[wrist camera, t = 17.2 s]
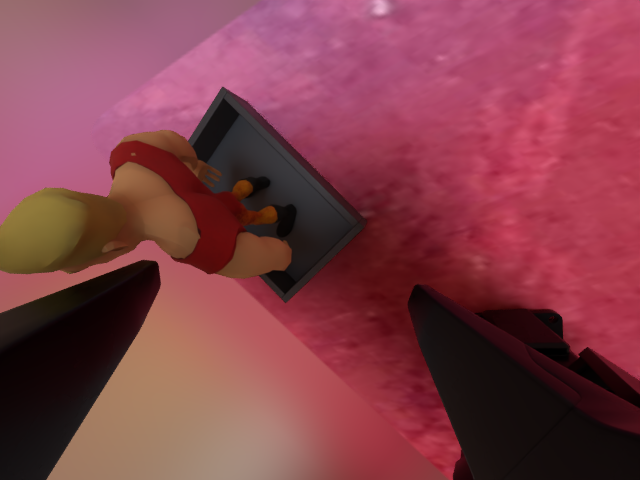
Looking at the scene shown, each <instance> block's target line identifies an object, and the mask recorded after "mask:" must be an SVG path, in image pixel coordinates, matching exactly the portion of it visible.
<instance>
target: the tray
mask: <svg viewBox="0 0 640 480" xmlns="http://www.w3.org/2000/svg"><path fill="white" fill-rule="evenodd" d="M188 142H189V144H190V145H191V146H192V147H193V149H194V151H195V153H196V156H197V159H198V160H201V161H203V162H205V163H206V164H208V165H209V166H211V167H213V168H214V169H216V170H218V171H219V172H221V174H222V176H219V175H217V174H215V173H214V172H212V171H210V170H208V169H207V171H208V172H209V173H211V174H213V175H215V176H217V177H218V178H219V179H220V181H219V182H218V181H216V180H214V179H212V178H211V177H209V176H207V175H205V177H206V178H207V179H208V180H209V181H210V182H212V183H213V184H214V185H215V186H214V187H211V186H209V185H208V184H207V183H205V182H204V181H202V183H203V184H204V185H206V186H207V187H208V188H209V189H210V190H211V191H212V192H213V193H219V192H222V191H229V192H232V191H233V187H234V186H235V185H236V183H237V182H238V181H239V180H240V179H244V178H247V177H254V178H258V177H260V176H264V177H267V179H268V180H269V181H270V183H269V186H267V187H266V188H264V189H260V190H257V191H256V192H255V193H253V195H252V196H250V197H249V198H244V199H242V200H241V201H240V202H241V203H242V204H243V205H244V206H245V208H246V209H247V210H250V211H256V212H259V211H260V210H262V209H263V208H265V207H267V206H269V205H271V204H273V205H280V206H283V207H285V206H286V205H288V204H292V205H293V206H294V207H295V208H296V211H297V212H296V216H295V220H294V224H293V227H292V230H291V232H290V233H289V234H288V235H287V236H286V237H283V238H281V237H279V236H277V234H276V230H277V226H278V224H279V222H280V221H281V220H280V221H279V222H277V223H272V224H261V225H254V224H250V225H247V226H243V227H244V228H245V229H246V230H247V232H249V233H252V234H254V235H256V236H258V237H259V238H260V237H265V236H266V237H272V238H276V239H279V240H281V241H282V242H283V240H285V241H287V243H288V245H289V247H290V248H291V249H292V253H291V263H290V264H289V265H288V267H287V268H286V269H285V271H281V270H272V271H270V272H268V273H264V274H261V275H259V276H260V277H261V278H262V279H263V280H264V281H265V282H266V283H267V284H268V285H269V286H270V287H271V288H272V290H273V291H274V292H275V293H276V294H277V295H278V296H279V297H280V298H281V299H282V300H283V301H284V302H285V303H286V302H287V301H289V300H290V299H291V298H292V297H293V296H294V295H295V294H296V293H297V292H298V291H299V290H300V289H301V288H302V287H303V286H304V285H305V284H306V283H307V282H308V281H309V280H310V279H311V278H312V277H313V276H315V275H316V274H317V273H318V272H319V271H320V270H321V269H322V268H323V267H324V266H325V265H326V264H327V263H328V262H329V261H330V260H331V259H332V258H333V257H334V256H335V255H336V254H337V253H338V252H339V251H341V250H342V249H343V248H344V247H345V246H346V245H347V244H348V243H349V242H350V241H351V240H352V239H353V238H354V237H355V236H356V235H357V234H358V233H359V232H360V231H361V230H362V229H363V228H364V227H365V225H366V223H367V220H366V219H365V218H364V217H363V216H362V215H361V214H359V213H358V212H357V211H356V210H355V209H354V208H353V207H352V206H351V205H350V204H349V203H348V202H347V201H346V200H345V199H344V198H343V197H342V196H341V195H340V194H339V193H338V192H337V191H336V190H335V189H334V188H333V187H332V186H331V185H330V184H329V183H328V182H327V181H326V180H325V179H324V178H323V177H322V176H321V175H320V174H319V173H318V172H317V171H316V170H315V169H314V168H313V167H312V166H311V165H310V164H309V163H308V162H307V161H306V160H305V159H304V158H303V157H302V156H301V155H300V154H299V153H298V152H297V151H296V150H295V149H294V148H293V147H292V146H291V145H290V144H289V143H288V142H287V141H286V140H285V139H284V138H283V137H282V136H281V135H280V134H279V133H278V132H277V131H276V130H275V129H274V128H273V127H272V126H271V125H270V124H269V123H268V122H267V121H266V120H265V119H264V118H263V117H262V116H261V115H260V114H259V113H258V112H257V111H256V110H255V109H254V108H253V107H252V106H251V105H250V104H249V103H248V102H247V101H245V100H244V99H242V98H240V97H239V96H237V95H235V94H234V93H232V92H230V91H229V90H227V89H226V88H224V87H222V88H221V90H220V91H219V93H218V94H217V96H216V97H215V99H214V101H213V102H212V104H211V105H210V107H209V109H208V110H207V112H206V113H205V115H204V117H203V118H202V120H201V121H200V123H199V125H198V126H197V128H196V129H195V131H194V132H193V134H192V136H191V137H190V139H189V140H188Z"/></svg>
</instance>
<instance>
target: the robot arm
mask: <svg viewBox="0 0 640 480" xmlns="http://www.w3.org/2000/svg"><path fill="white" fill-rule="evenodd" d="M160 285H161V282H160V273H159V266H158V263H157V262H156V261H149V260H141V261H138V262H136V263H133V264H130V265H128V266H125V267H122V268H120V269H117V270H114V271H112V272H109V273H106V274H104V275H101V276H98V277H96V278H93V279H90V280H88V281H85V282H82V283H80V284H77V285H74V286H72V287H69V288H66V289H64V290H61V291H58V292H56V293H53V294H50V295H48V296H45V297H43V298H40V299H37V300H34V301H32V302H29V303H26V304H24V305H21V306H18V307H16V308H13V309H10V310H8V311H5V312H2V313H0V480H46V479H47V478H48V476H49V474H50V473H51V471H52V470H53V468H54V467H55V465H56V463H57V462H58V460H59V458H60V457H61V455H62V454H63V452H64V451H65V449H66V447H67V446H68V444H69V443H70V441H71V439H72V437H73V436H74V435H75V433H76V431H77V430H78V428H79V427H80V425H81V423H82V422H83V420H84V419H85V417H86V415H87V414H88V412H89V411H90V409H91V407H92V406H93V404H94V403H95V401H96V399H97V398H98V396H99V395H100V393H101V392H102V390H103V388H104V387H105V385H106V383H107V382H108V380H109V379H110V377H111V375H112V374H113V372H114V371H115V369H116V368H117V366H118V364H119V363H120V361H121V359H122V358H123V356H124V355H125V353H126V352H127V350H128V348H129V347H130V345H131V344H132V342H133V340H134V339H135V337H136V335H137V334H138V332H139V330H140V328H141V327H142V325H143V323H144V321H145V318H146V316H147V314H148V312H149V310H150V308H151V306H152V304H153V302H154V300H155V297H156V295H157V293H158V291H159V289H160ZM408 309H409V313H410V316H411V320H412V323H413V326H414V330H415V333H416V337H417V340H418V343H419V346H420V348H421V351H422V353H423V356H424V358H425V361H426V363H427V366H428V368H429V370H430V373H431V375H432V378H433V380H434V383H435V385H436V388H437V390H438V392H439V395H440V397H441V400H442V402H443V405H444V407H445V410H446V412H447V414H448V417H449V419H450V422H451V424H452V427H453V429H454V431H455V434H456V436H457V439H458V441H459V444H460V446H461V449H462V450H461V459H460V460H458V461H457V462H456V464H455V469H454V473H453V480H640V381H639V380H638V379H636V378H635V377H633V376H631V375H630V374H628V373H627V372H625V371H624V370H622V369H621V368H619V367H618V366H616V365H615V364H613V363H612V362H610V361H608V360H607V359H605V358H604V357H602V356H601V355H599V354H598V353H596V352H595V351H593V350H592V349H590V348H588V347H587V348H586V349H584V350H583V351H582V352H581V353H579V354H578V355H579V356H580V357H577V356H576V355H575V354H574V353H573V352H572V351H571V350H570V346H569V345H568V344H567V343H566V342H565V341H564V340H563V320H562V317H561V316H560V315H559V314H558V313H557V312H555V311H553V310H539V311H529V310H527V309H510V310H487V311H485V312H483V313H473V312H471V311H469V310H468V309H466V308H464V307H463V306H461V305H459V304H458V303H456V302H454V301H453V300H451V299H449V298H448V297H446V296H444V295H443V294H441V293H439V292H438V291H436V290H434V289H433V288H431V287H429V286H427V285H421V284H417V285H415V286H414V288H413V290H412V293H411V295H410V298H409V300H408ZM552 316H554V319H553V320H550V321H549V318H550V317H552Z"/></svg>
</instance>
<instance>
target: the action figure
mask: <svg viewBox="0 0 640 480" xmlns="http://www.w3.org/2000/svg"><path fill="white" fill-rule="evenodd" d="M109 163H110V166H111V176H112V179H113V183H112V187H111V190H110V193H109V195H108V196H107V197H103V196H99V195H94V194H88V193H80V192H76V191H71V190H68V189H64V188H44V189H43V190H40V191H38V192H36V193H34V194H32V195H30V196H28V197H26V198H24V199H23V200H22V201H21V203H19V205H17V206H16V207H15V209H13V210H12V211H11V213H10V214H9V215H8V217H7V218H6V220H5V221H4V222H3V224H2V225H1V226H0V270H2V271H4V272H8V273H14V274H32V273H45V272H54V271H57V270H61V271H64V272H66V273H69V274H72V273H76V272H79V271H81V270H84V269H86V268H88V267H89V266H92V265H96V264H102V263H107V262H109V261H111V260H113V259H115V258H117V257H119V256H121V255H124V254H126V253H129V252H130V251H132V250H134V249H135V248H136V246H137V245H138V244H139V243H140V242H141V241H145V240H152V241H155V242H156V244H157V245H158V246H160V248H161V249H162V250H163V251H165V252H166V253H167V254H168V255H170V256H171V258H172V259H173V260H175V261H177V262H180V263H185V264H190V265H192V266H194V267H196V268H198V269H200V270H202V271H204V272H206V273H207V274H213V273H215V274H219V275H222V276H226V277H229V278H243V279H245V278H249V277H254V276H258V275H261V274H264V273H268V272H270V271H272V270H281V271H285V269H286V268H287V267H288V265H289V264H290V263H291V253H292V249H291V248H290V247H289V245H288V243H287V241H285V240H283V242H282V241H281V240H279V239H276V238H272V237H266V236H265V237H260V238H259V237H258V236H256V235H254V234H252V233H249V232H247V230H246V229H245V228H244V227H243V226H247V225H250V224H254V225H261V224H272V223H277V222H279V221H280V220H281V221H280V222H279V224H278V226H277V230H276V234H277V236H279V237H281V238H283V237H286V236H287V235H288V234H289V233H290V232H291V230H292V227H293V224H294V220H295V216H296V212H297V211H296V208H295V207H294V206H293V205H292V204H288V205H286V206H285V207H283V206H280V205H273V204H271V205H269V206H267V207H265V208H263V209H262V210H260V211H259V212H256V211H250V210H247V209H246V208H245V206H244V205H243V204H242V203H241V202H240V201H241V200H242V199H244V198H249V197H250V196H252V195H253V193H255V192H256V191H257V190H260V189H264V188H266V187H267V186H269V183H270V181H269V180H268V179H267V177H264V176H260V177H258V178H254V177H247V178H244V179H240V180H239V181H238V182H237V183H236V185H235V186H234V187H233V191H232V192H229V191H222V192H219V193H213V192H212V191H211V190H210V189H209V188H208V187H207V186H206V185H204V184H203V183H202V181H204V182H205V183H207V184H208V185H209V186H211V187H214V186H215V185H214V184H213V183H212V182H210V181H209V180H208V179H207V178H206V177H205V175H207V176H209V177H211V178H212V179H214V180H216V181H218V182H219V181H220V179H219V178H218V177H217V176H215V175H213V174H211V173H209V172H208V171H207V169H208V170H210V171H212V172H214V173H215V174H217V175H219V176H222V174H221V172H219V171H218V170H216V169H214V168H213V167H211V166H209V165H208V164H206V163H205V162H203V161H201V160H198V159H197V156H196V153H195V151H194V149H193V147H192V146H191V145H190V144H189V142H188V141H187V140H186V139H185V137H183V136H180V135H179V134H177V133H176V132H173V131H170V130H160V131H156V132H143V133H138V134H132V135H129V136H127V137H124V138H123V139H122V140H121V142H120V143H119V144H118V145H117V146H116V148H115V149H114V150H113V151H112V152H111V156H110V162H109Z"/></svg>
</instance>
